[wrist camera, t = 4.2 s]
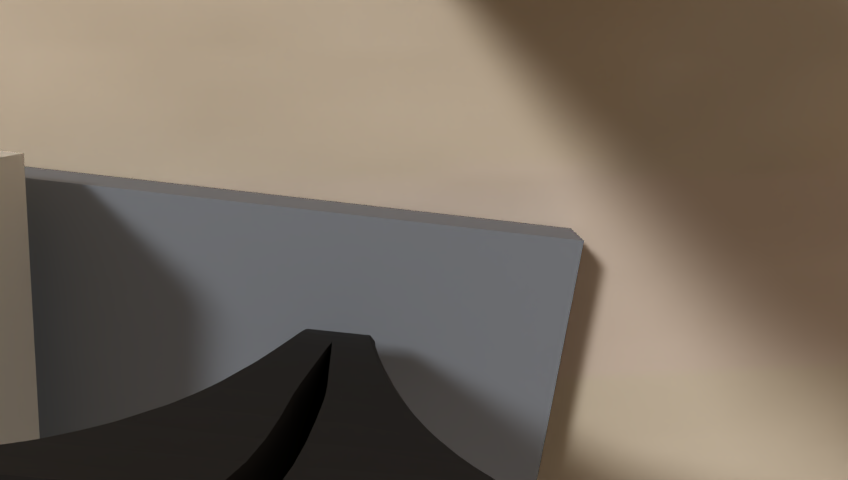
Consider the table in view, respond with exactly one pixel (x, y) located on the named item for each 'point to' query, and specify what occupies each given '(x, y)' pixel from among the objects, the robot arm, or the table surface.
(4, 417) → the peg
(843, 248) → the table surface
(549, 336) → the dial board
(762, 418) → the table surface
